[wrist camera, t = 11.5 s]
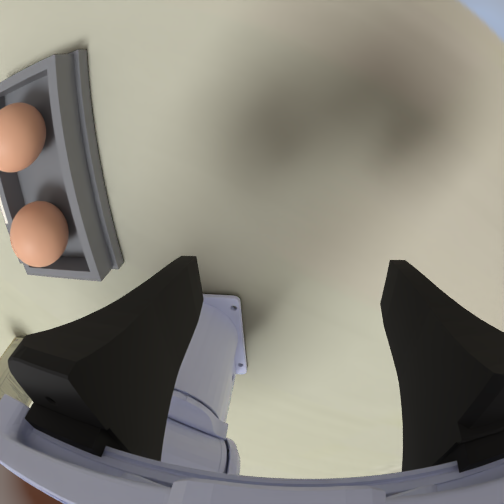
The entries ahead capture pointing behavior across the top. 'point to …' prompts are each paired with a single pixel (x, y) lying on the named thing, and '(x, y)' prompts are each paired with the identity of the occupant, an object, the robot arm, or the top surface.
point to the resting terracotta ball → (39, 234)
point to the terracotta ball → (20, 136)
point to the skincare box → (11, 377)
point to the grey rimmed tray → (63, 166)
